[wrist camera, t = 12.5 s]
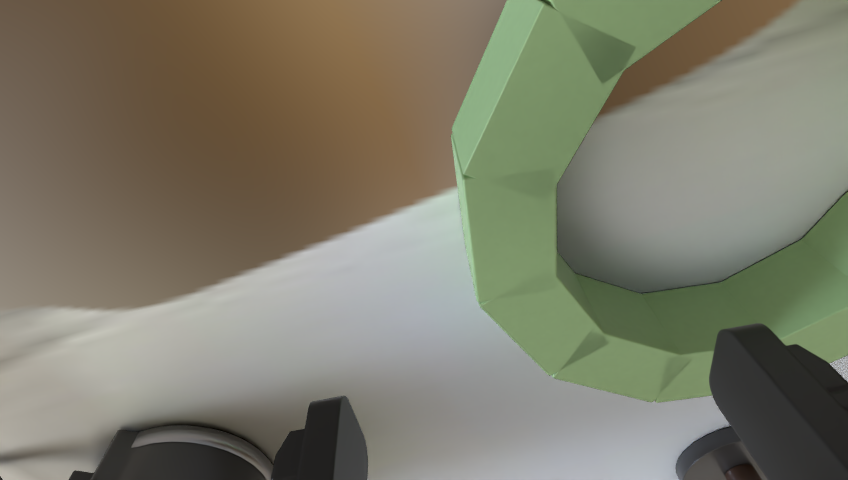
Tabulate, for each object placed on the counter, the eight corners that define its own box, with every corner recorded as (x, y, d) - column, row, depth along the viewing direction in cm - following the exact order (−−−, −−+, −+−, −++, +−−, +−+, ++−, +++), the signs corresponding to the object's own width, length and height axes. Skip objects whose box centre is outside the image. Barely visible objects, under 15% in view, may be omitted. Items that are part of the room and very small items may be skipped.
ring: (387, 274, 22) (386, 337, 19) (646, -323, 12) (739, -416, 9) (730, 370, 27) (778, 434, 23) (1120, -7, 17) (1299, 11, 13)
